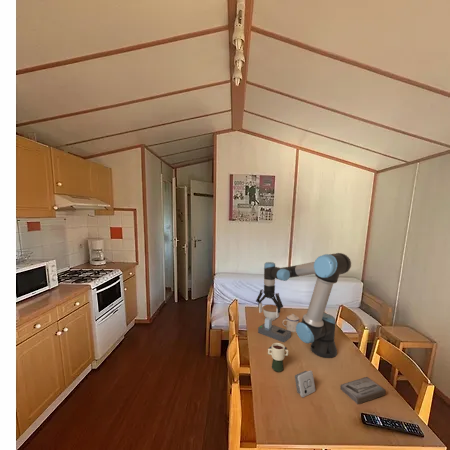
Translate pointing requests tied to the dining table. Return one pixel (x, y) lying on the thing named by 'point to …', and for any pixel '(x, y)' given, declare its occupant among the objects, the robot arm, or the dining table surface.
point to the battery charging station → (275, 332)
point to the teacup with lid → (291, 322)
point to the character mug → (277, 356)
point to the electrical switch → (305, 383)
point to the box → (362, 390)
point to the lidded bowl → (270, 311)
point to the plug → (268, 323)
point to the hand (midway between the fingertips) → (268, 314)
